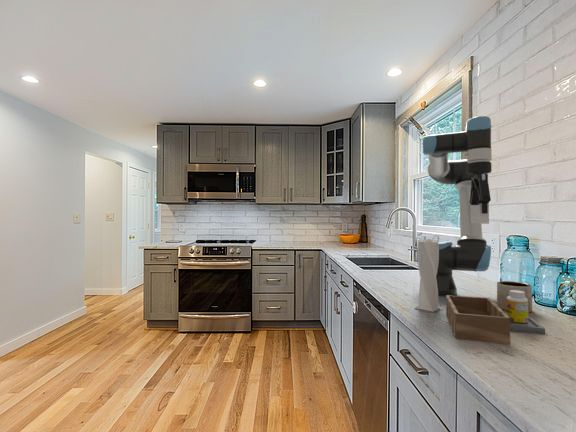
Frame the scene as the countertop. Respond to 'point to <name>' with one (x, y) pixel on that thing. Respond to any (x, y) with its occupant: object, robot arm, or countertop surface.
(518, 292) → the supplement bottle
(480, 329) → the frame
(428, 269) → the skyscraper
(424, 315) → the countertop surface
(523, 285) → the planter
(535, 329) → the tray
